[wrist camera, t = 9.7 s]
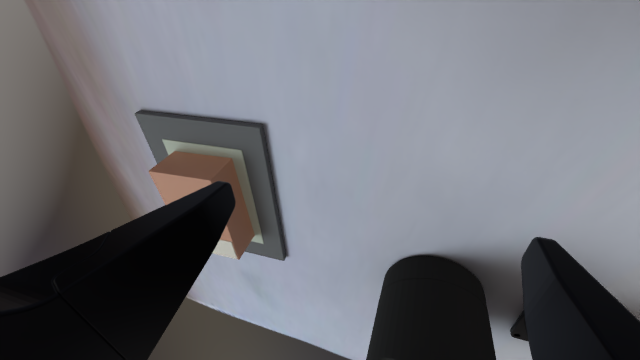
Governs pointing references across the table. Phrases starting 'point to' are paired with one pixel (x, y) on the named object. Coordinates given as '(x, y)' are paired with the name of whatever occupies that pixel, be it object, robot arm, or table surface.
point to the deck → (198, 172)
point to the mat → (228, 142)
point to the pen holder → (431, 313)
